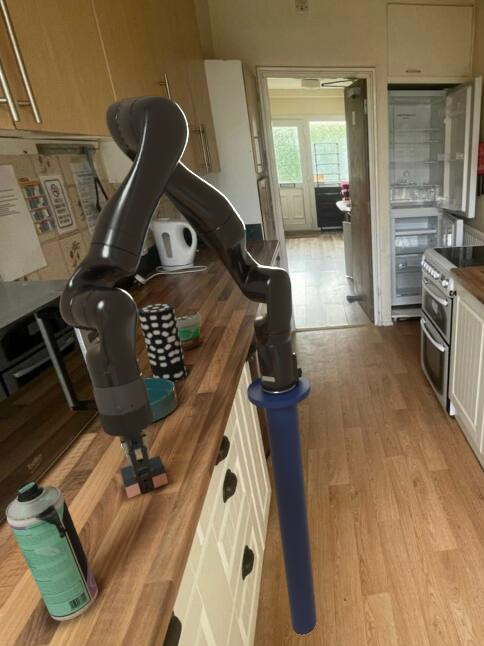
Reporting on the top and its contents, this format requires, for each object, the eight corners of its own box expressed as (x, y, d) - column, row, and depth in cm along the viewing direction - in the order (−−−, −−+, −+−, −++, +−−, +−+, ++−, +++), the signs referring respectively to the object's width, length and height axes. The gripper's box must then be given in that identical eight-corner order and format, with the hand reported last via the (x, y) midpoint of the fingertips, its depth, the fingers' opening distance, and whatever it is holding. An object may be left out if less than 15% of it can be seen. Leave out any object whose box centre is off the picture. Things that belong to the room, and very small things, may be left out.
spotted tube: (188, 368, 123) (176, 301, 115) (184, 381, 115) (170, 311, 107) (157, 371, 121) (142, 304, 113) (150, 385, 113) (133, 314, 105)
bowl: (170, 389, 111) (166, 372, 109) (184, 414, 100) (180, 396, 98) (104, 407, 103) (99, 389, 101) (112, 437, 92) (106, 417, 90)
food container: (171, 355, 130) (164, 325, 126) (164, 349, 134) (158, 319, 131) (211, 344, 138) (206, 315, 134) (203, 339, 142) (198, 310, 138)
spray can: (107, 583, 61) (66, 470, 53) (80, 621, 56) (31, 503, 48) (69, 581, 61) (23, 469, 53) (39, 620, 56) (-16, 502, 48)
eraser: (163, 472, 82) (159, 455, 81) (168, 483, 79) (163, 465, 78) (125, 486, 78) (120, 468, 77) (128, 498, 76) (123, 480, 74)
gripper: (156, 412, 69) (174, 491, 75) (141, 379, 79) (158, 450, 85) (101, 428, 65) (126, 511, 71) (93, 390, 75) (115, 465, 81)
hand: (143, 477), depth 78 cm, fingers open, 8 cm apart
